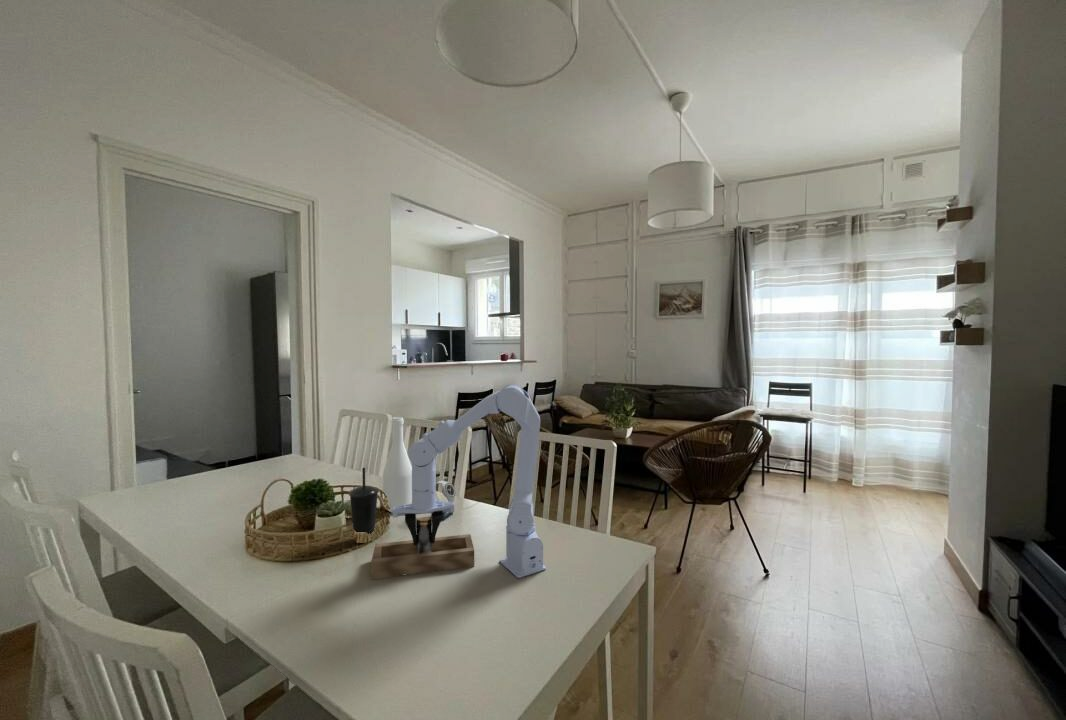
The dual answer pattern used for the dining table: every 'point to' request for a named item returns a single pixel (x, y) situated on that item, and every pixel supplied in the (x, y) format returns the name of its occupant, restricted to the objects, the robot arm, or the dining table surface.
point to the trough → (422, 556)
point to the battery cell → (424, 535)
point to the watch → (448, 493)
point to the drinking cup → (364, 507)
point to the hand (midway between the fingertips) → (424, 542)
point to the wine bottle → (398, 470)
